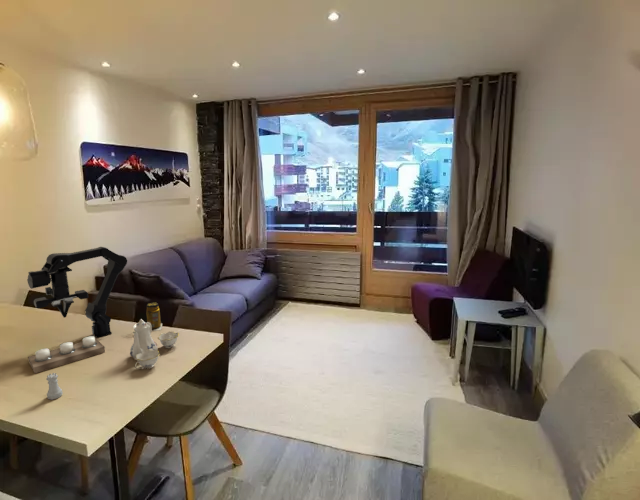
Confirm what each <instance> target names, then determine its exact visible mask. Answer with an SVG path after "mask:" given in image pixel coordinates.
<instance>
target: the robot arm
mask: <svg viewBox="0 0 640 500" xmlns="http://www.w3.org/2000/svg"><path fill="white" fill-rule="evenodd" d="M99 257H102V258H103V259H105V260H106V261H107V265H106V266H107V268H106V269H107V271H106V274H105V276H104V278H103V281H102V284H101V285H100V288H99V290H98V292H97V296H95V299H94V300H93V301H92V302H88V303H87V306H86V308H85V310H84V312H85V313H84V314H85V316H86V318H87V319H88V320H91V322H92V326H91V332H92V336H94V337H95V338H96V339H98V338H101V337H104V336H108V335H112V334H113V332H112V331H111V325H110V323H111V320H112V317H110V316H109V315H107V314H106V313H107V302H108V300H109V297H110V295H111V292H112V290H113V288H114V285H115V282H116V280H117V278H118V276H119V274H121V272H122V271H124V269H125V267H126V266H127V265H128V260H127V257H126V256H125V255H121V254H118V253H116V252H114V251H112V250H110V249H109V248H108V247H105V246H98V247H94V248H91V249H85V250H80V251H74V252H54V253H50V254H48V256H47V257H46V261H45V263H44V265H43V266H42V268H41V269H40V270H35V271H33V270H32V271H31V270H30V271H28V273H27V274H28V276H27V280H26V281H27V285H28V287H29V288H30V289H37V288H41V287H45V289H44V290H45V295H46V296H48V295H51V298H47V297H45V296H43V297H39V298H35V299H34V300H33V305H34V306H35V308H36V309H41V308H46V307H48V305H49V304H51V305H52V306H53V307H57V309H58V310H59V312H60V313H61V316H62V317H63V318H67V315H68V312H69V309H70V307H71V305H72V304H74V303H75V301H74V299H77V298H78V299H79V300H85V299H89V298H90V297H89V292H88V291H86V290H85V289H80V290H75V291H74V293H71V294H70V289H69V288H70V287H69V281H68V280H69V279H68V274H67V273H68V272H72V271H73V269H72V268H70V267H69V266H71V265H72V264H74V263H76V262H77V263H78V262H81V261H86V260H90V259H91V260H92V259H96V258H99ZM50 284H51V286H49V285H50ZM46 286H47V287H46ZM62 302H63V303H62Z"/></svg>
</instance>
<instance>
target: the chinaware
mask: <svg viewBox="0 0 640 500" xmlns="http://www.w3.org/2000/svg"><path fill="white" fill-rule="evenodd" d="M132 328H133V330H134V331H133V332H132V333H133V343H132V345H131V347H130V349H129V350H130V351H129V355H130V356H131V357H132V358H133V360H134V359H135V361H137V362H135V365H134V366H135V367H134V368H135V369H136V370H140V369H142V370H144V369H146V368H147V369H146V370H149V369H152V368H153V367H154V366H155V364H156V363H157V362H158V359H159V356H160V354H161V353H160V351H159V349H158V344H157V342H156V341H155V340H154V339H153V337H152V332H153V331H152V325H151V323H150V322H147V321H144V320H143V319H142V318H140V319H139V321H138V322H137V324H136V323H135V324H134V325H133V326H132ZM149 328H150V329H149ZM179 335H180V333H179V332H175V331H172V330H171V331H168V332H165V333H163V332H162V333H160V334H159V335H158V337H157V340H159V342H160V344H161V345H162V346H164V347H165V349H171V348H173V347H174V345H175V344H176V342H177V341H178V337H179ZM138 364H139V365H140V367H139V368H137V365H138ZM148 368H149V369H148Z"/></svg>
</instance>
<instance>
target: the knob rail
mask: <svg viewBox="0 0 640 500" xmlns="http://www.w3.org/2000/svg"><path fill="white" fill-rule="evenodd" d="M73 348H74V350H73V351H72V352H70V353H66V354H62V353H61V351H60V347H59V348H54V349H52V350H49V351H50V358H48V359H46V360H42V361H37V360H36V354H34V355H29V356H28V357H27V358H28V363H29V365H30V367H31V369H32V371H33V373H34V374H37V373H41V372H45V371H48V370H51V369H54V368H57V367H60V366H63V365H67V364H70V363H73V362H77V361H81V360H84V359H86V358H87V359H88V358H90V357H93V356H97V355H100V354H103V353H105V352H106V348H105V346H104V345H103V344H102V343H101V342H100V341H99V340H98V338H97V337H95V345H94V346H91V347H83V341H80V342H77V343H76V342H75V343H73Z"/></svg>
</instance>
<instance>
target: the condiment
mask: <svg viewBox="0 0 640 500" xmlns="http://www.w3.org/2000/svg"><path fill="white" fill-rule="evenodd" d="M145 310H146V311H145V312H146V313H145V314H146V315H145V316H146V322H150V323H151V325H152V332H155V331H162V327H163V323H162V321H161V312H160V307H159V303H157V302H150V303H147V304H146V309H145ZM149 329H150V328H149Z"/></svg>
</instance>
